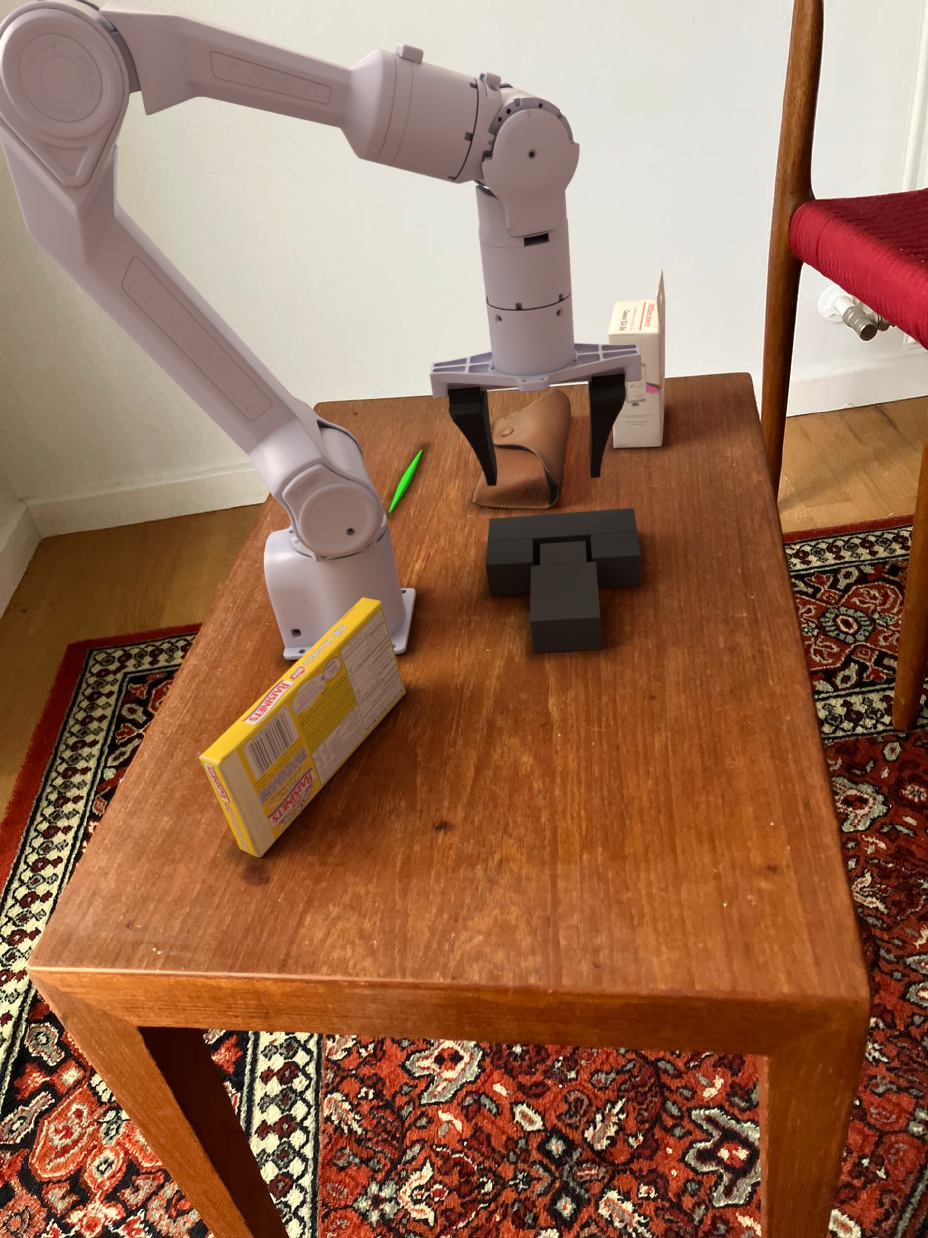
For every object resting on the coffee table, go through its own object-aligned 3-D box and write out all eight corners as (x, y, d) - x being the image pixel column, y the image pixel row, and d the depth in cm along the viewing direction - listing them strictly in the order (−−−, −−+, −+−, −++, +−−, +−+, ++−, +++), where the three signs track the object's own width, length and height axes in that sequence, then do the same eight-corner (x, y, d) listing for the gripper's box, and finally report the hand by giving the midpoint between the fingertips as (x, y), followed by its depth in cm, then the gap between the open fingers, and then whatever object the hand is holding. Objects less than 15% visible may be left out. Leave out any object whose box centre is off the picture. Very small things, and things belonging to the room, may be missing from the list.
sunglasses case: (490, 418, 100) (517, 364, 96) (550, 445, 101) (579, 394, 97) (469, 507, 86) (500, 449, 82) (538, 538, 87) (572, 482, 83)
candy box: (383, 686, 68) (362, 594, 63) (408, 693, 67) (387, 600, 62) (235, 848, 58) (195, 754, 53) (261, 861, 57) (223, 765, 52)
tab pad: (533, 653, 69) (530, 621, 67) (534, 575, 77) (531, 544, 75) (602, 649, 69) (600, 617, 67) (595, 571, 76) (594, 540, 75)
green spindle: (382, 521, 87) (381, 513, 87) (420, 449, 98) (419, 442, 98) (392, 521, 87) (391, 514, 87) (428, 449, 98) (427, 442, 97)
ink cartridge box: (617, 410, 99) (613, 268, 90) (665, 409, 98) (666, 265, 89) (610, 449, 92) (605, 300, 84) (662, 448, 91) (662, 297, 82)
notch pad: (489, 595, 76) (485, 565, 74) (493, 547, 81) (489, 517, 79) (641, 586, 74) (640, 554, 72) (634, 538, 80) (633, 507, 78)
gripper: (414, 327, 60) (443, 510, 69) (644, 305, 59) (645, 495, 67) (425, 290, 66) (450, 463, 74) (635, 269, 64) (637, 448, 72)
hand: (543, 475), depth 71 cm, fingers open, 7 cm apart
